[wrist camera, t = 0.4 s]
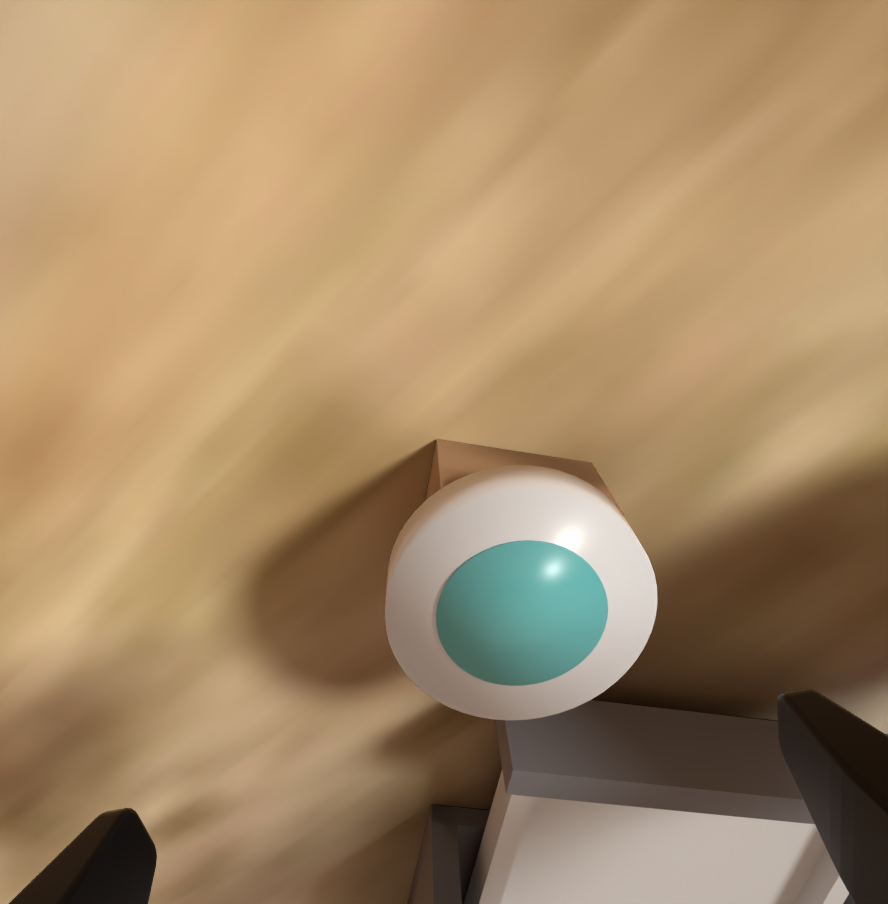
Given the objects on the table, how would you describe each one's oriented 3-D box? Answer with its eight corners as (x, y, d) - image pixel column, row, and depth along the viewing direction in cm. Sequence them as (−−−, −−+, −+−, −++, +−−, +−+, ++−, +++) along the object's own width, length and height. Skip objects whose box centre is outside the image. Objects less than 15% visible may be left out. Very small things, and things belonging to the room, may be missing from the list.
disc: (670, 486, 17) (695, 516, 16) (599, 691, 20) (616, 735, 18) (408, 446, 17) (408, 474, 15) (370, 665, 19) (367, 708, 18)
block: (591, 462, 21) (623, 514, 18) (553, 594, 23) (576, 662, 19) (436, 439, 20) (440, 487, 17) (411, 575, 22) (410, 642, 19)
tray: (906, 736, 25) (978, 817, 21) (775, 962, 29) (818, 1056, 26) (499, 689, 23) (513, 770, 20) (433, 937, 28) (435, 1033, 25)
